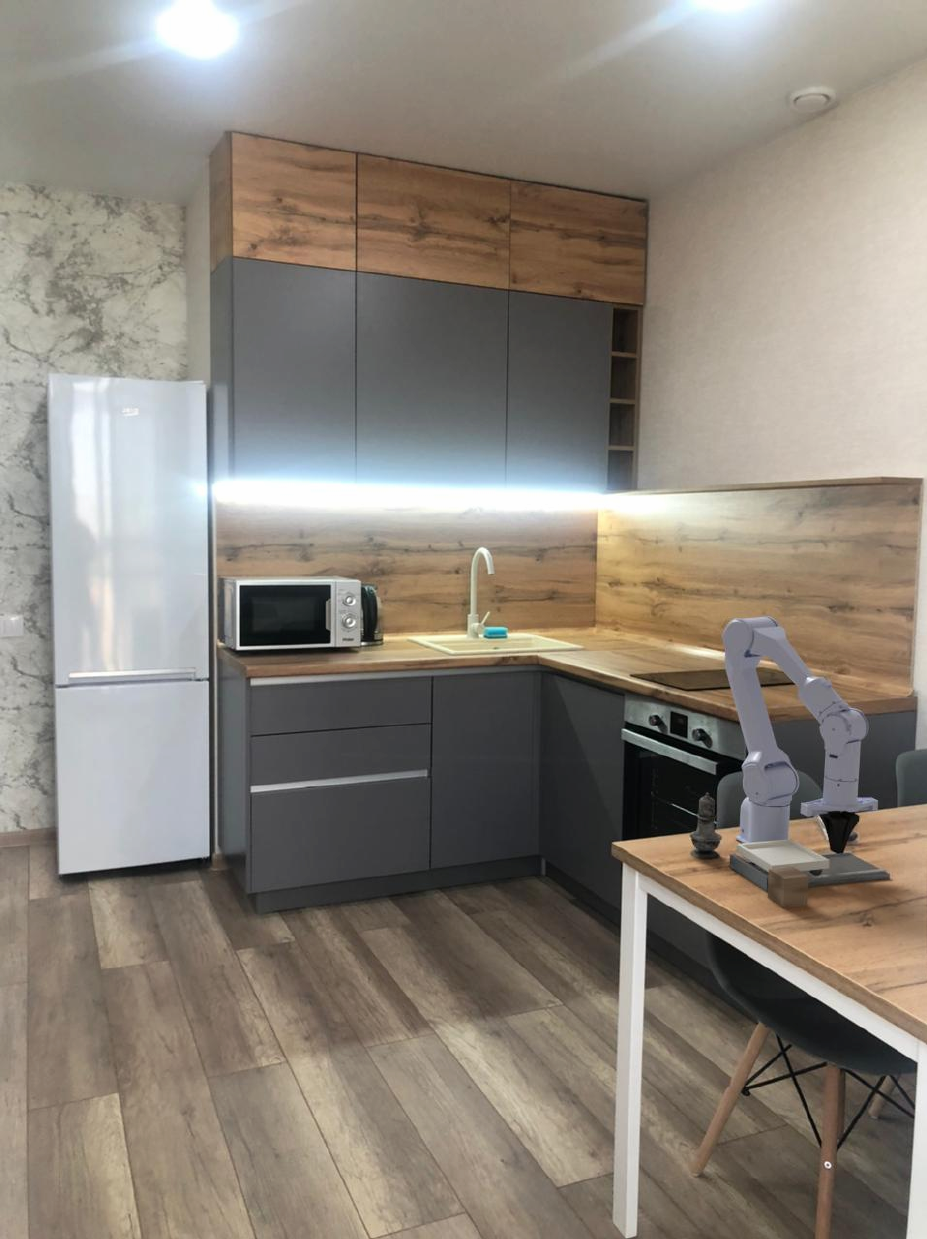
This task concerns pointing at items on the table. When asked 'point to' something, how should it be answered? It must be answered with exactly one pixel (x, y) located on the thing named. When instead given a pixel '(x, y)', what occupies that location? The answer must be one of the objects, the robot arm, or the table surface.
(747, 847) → the white recessed tray
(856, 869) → the dark grey tray
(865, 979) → the table surface
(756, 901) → the table surface
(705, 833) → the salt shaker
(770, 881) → the plain brown block
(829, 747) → the robot arm
